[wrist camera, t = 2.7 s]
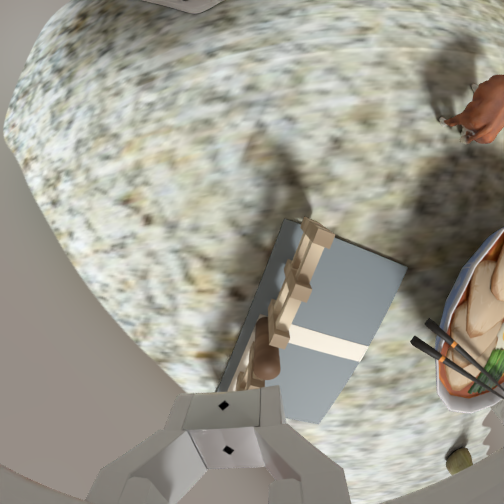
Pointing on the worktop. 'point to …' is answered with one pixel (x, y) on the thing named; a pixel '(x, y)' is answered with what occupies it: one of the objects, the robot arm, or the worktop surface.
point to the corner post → (265, 353)
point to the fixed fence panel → (249, 375)
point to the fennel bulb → (459, 461)
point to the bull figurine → (481, 112)
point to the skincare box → (499, 410)
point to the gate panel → (297, 281)
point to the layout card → (320, 322)
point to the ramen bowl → (472, 333)
